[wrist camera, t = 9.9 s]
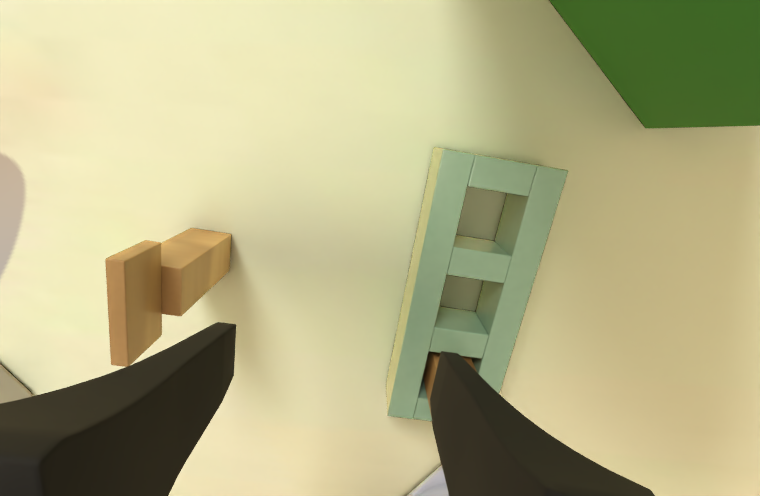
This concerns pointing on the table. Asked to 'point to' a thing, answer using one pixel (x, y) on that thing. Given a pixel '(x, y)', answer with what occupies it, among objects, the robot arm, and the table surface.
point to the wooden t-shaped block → (159, 286)
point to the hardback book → (675, 57)
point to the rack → (470, 272)
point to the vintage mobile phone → (11, 387)
